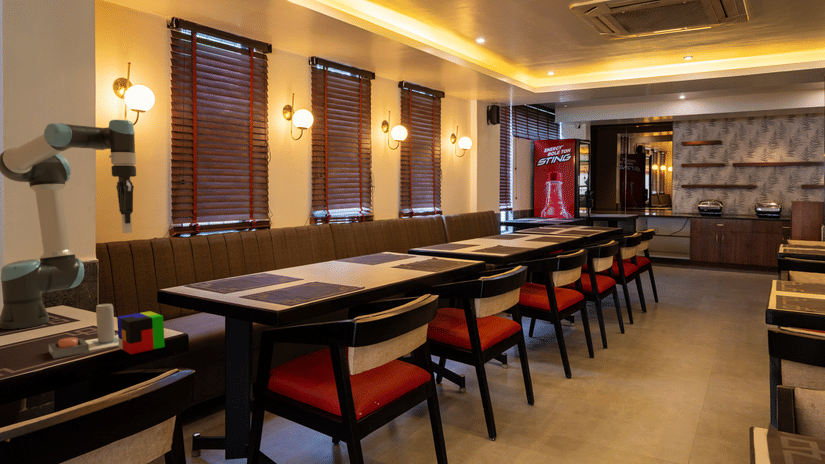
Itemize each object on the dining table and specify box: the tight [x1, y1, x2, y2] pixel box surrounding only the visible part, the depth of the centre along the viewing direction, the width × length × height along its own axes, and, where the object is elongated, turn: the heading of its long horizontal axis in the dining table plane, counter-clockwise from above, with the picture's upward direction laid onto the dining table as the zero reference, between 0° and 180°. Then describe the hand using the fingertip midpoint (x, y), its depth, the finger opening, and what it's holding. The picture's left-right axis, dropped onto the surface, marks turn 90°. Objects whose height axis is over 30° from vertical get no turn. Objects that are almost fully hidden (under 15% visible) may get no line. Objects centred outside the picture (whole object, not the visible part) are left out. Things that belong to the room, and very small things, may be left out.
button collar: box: [48, 337, 90, 360], centre depth 163 cm, size 9×9×2 cm
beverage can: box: [95, 303, 116, 343], centre depth 173 cm, size 5×5×12 cm
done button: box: [57, 336, 79, 348], centre depth 163 cm, size 5×5×4 cm
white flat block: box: [84, 334, 119, 352], centre depth 173 cm, size 13×12×1 cm
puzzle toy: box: [116, 310, 166, 355], centre depth 167 cm, size 10×10×10 cm
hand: (127, 232), depth 188 cm, fingers closed
